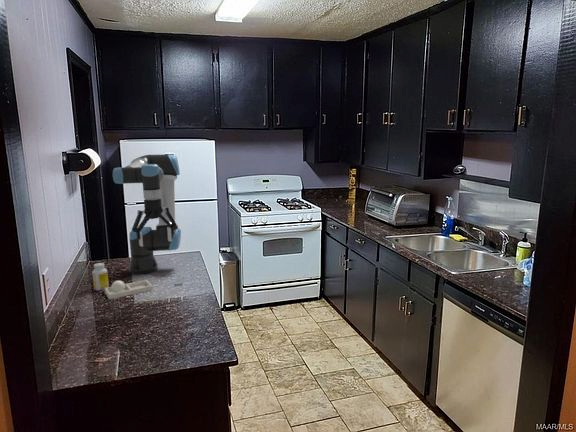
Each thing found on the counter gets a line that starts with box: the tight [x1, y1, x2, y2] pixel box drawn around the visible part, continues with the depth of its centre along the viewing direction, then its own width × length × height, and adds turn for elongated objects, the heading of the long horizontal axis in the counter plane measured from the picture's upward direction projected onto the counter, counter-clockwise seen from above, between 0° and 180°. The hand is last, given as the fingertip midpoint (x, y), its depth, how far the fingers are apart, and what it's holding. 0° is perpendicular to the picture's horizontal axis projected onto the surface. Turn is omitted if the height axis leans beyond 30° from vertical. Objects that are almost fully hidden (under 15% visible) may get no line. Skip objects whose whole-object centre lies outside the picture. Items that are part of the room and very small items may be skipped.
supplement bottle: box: [91, 262, 110, 291], centre depth 202 cm, size 7×7×13 cm
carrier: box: [104, 279, 154, 300], centre depth 199 cm, size 20×11×3 cm, turn 124°
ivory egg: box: [110, 280, 126, 293], centre depth 196 cm, size 6×6×6 cm
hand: (155, 243), depth 197 cm, fingers open, 13 cm apart
